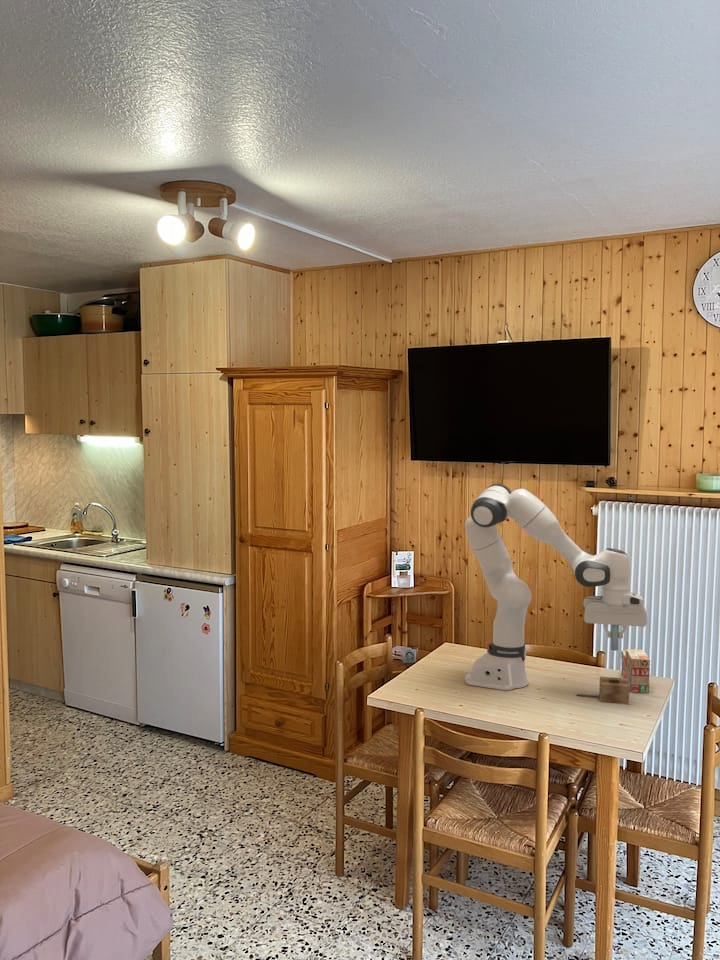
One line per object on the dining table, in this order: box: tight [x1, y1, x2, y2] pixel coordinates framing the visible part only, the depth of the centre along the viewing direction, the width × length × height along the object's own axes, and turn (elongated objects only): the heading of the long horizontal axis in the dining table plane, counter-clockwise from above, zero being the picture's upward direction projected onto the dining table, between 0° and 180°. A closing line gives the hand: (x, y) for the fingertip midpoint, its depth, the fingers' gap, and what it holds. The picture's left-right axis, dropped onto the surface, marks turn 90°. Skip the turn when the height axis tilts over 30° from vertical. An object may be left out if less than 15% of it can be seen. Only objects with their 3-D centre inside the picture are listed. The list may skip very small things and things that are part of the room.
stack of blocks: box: [620, 648, 651, 694], centre depth 281 cm, size 21×6×12 cm, turn 170°
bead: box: [599, 675, 630, 705], centre depth 264 cm, size 9×9×6 cm
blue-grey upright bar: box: [610, 625, 620, 652], centre depth 263 cm, size 2×2×11 cm
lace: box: [576, 693, 599, 699], centre depth 267 cm, size 7×1×1 cm, turn 75°
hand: (614, 637), depth 263 cm, fingers closed on blue-grey upright bar, 2 cm apart
